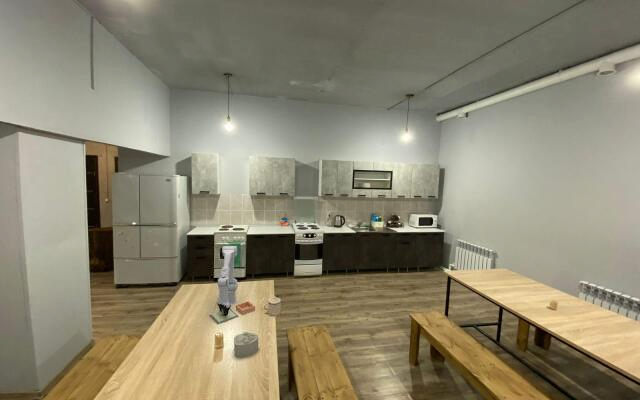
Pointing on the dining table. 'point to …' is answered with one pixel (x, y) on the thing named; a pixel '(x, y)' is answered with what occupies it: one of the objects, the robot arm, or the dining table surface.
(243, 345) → the lumpy-topped squat cylinder
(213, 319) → the mat
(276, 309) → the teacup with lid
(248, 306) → the dish
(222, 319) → the lid
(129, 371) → the dining table surface
